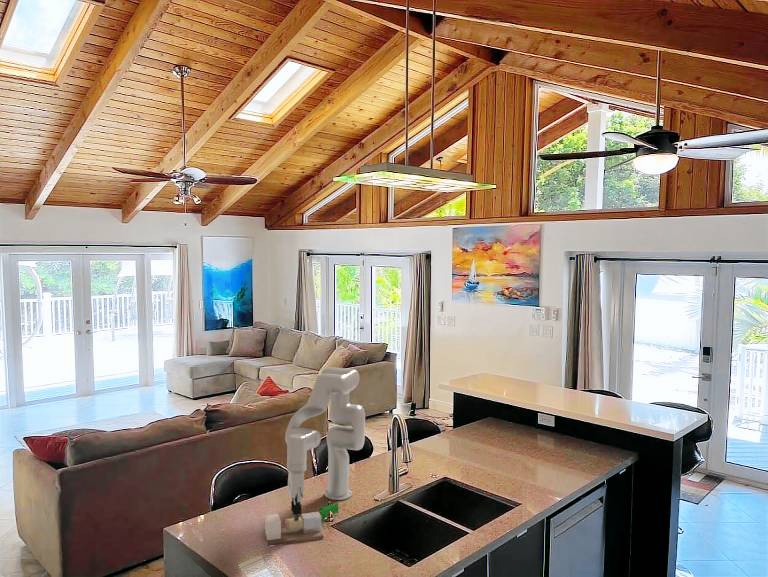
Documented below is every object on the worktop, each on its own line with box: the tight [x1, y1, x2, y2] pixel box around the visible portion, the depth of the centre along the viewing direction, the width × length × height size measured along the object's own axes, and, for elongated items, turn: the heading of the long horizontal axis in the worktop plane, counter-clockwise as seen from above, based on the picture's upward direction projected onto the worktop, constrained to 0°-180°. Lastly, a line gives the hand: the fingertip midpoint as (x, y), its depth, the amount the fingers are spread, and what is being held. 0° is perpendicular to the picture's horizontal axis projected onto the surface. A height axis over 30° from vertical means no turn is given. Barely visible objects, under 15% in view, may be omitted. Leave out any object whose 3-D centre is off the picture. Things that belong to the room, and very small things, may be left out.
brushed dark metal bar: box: [284, 499, 303, 530], centre depth 226 cm, size 3×13×11 cm, turn 109°
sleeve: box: [300, 511, 322, 534], centre depth 227 cm, size 5×7×6 cm
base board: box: [263, 525, 324, 547], centre depth 225 cm, size 12×21×1 cm, turn 109°
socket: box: [264, 513, 282, 541], centre depth 223 cm, size 7×5×6 cm
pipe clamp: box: [318, 502, 339, 523], centre depth 243 cm, size 11×4×5 cm, turn 145°
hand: (296, 512), depth 225 cm, fingers open, 2 cm apart
